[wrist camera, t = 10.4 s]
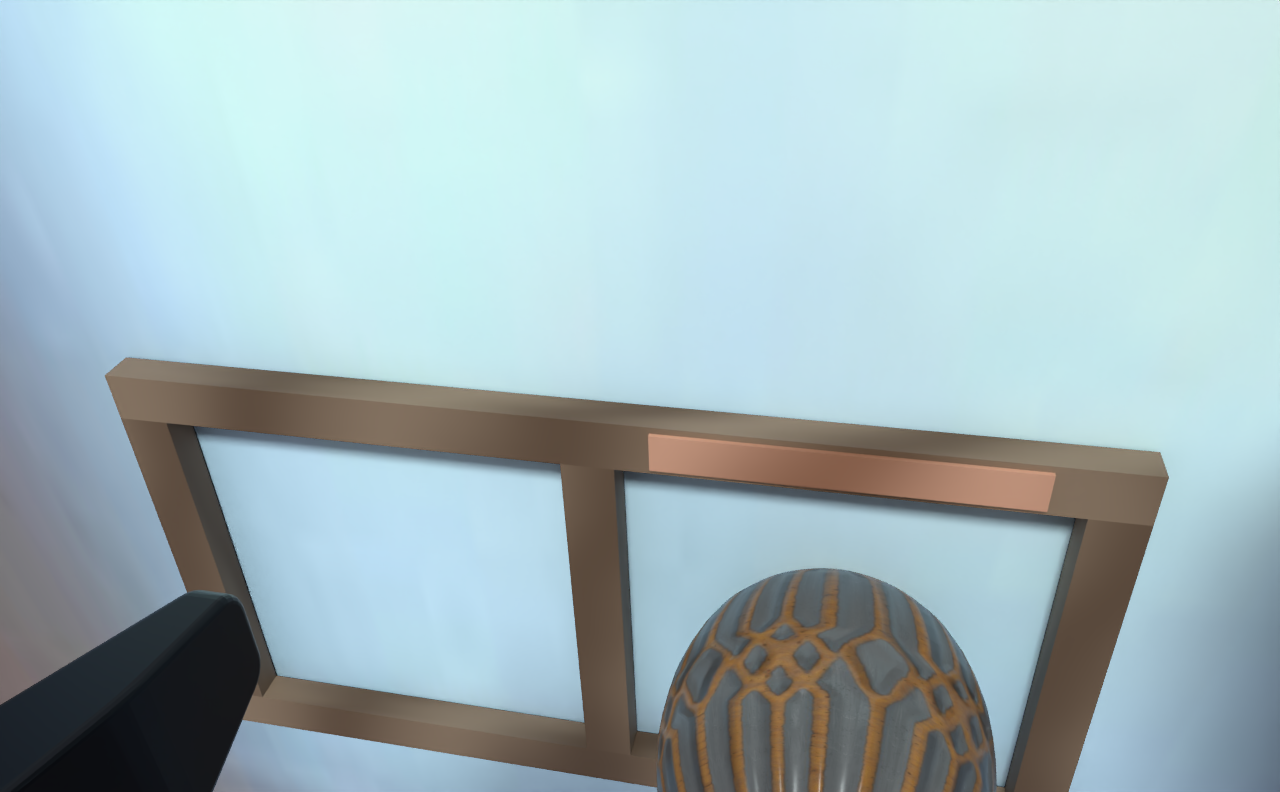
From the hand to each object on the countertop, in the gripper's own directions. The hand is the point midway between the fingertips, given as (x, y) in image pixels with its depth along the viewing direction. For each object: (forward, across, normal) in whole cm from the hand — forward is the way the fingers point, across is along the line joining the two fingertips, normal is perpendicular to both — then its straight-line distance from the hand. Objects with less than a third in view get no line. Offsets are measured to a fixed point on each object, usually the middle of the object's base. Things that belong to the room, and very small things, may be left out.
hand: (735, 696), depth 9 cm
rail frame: (+12, +5, +12) cm, 17 cm away
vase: (+12, -1, +12) cm, 17 cm away
